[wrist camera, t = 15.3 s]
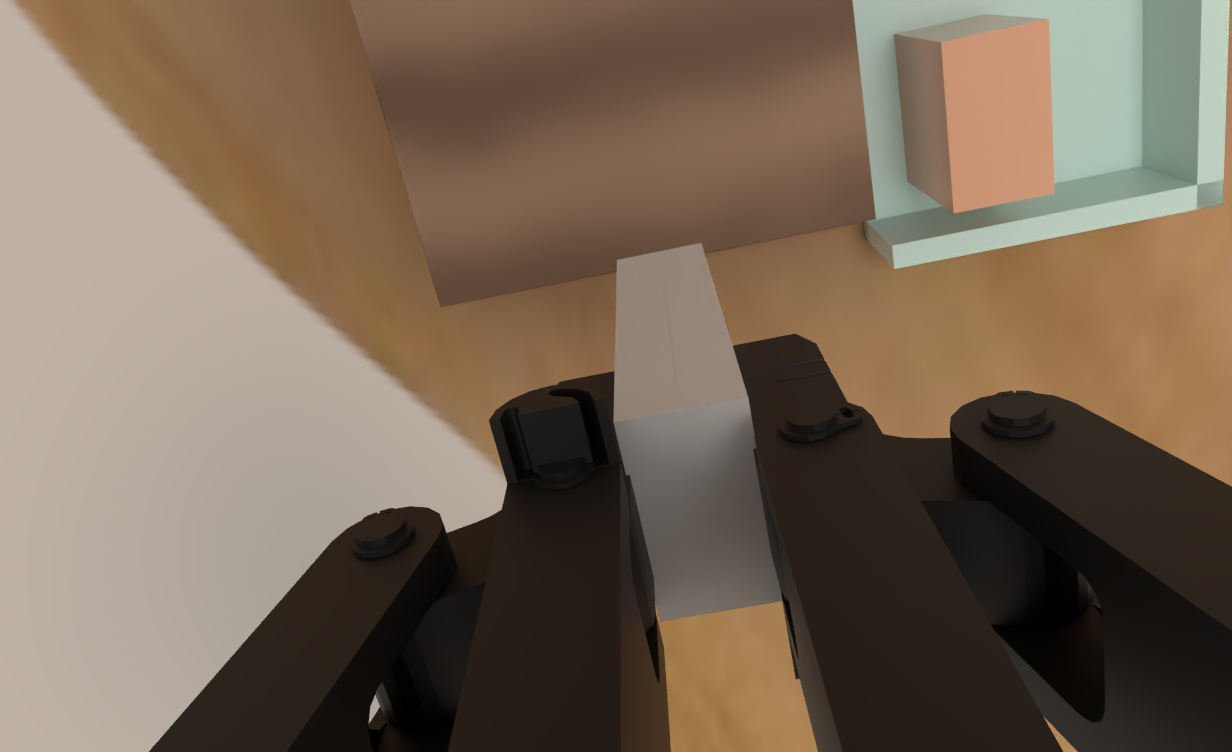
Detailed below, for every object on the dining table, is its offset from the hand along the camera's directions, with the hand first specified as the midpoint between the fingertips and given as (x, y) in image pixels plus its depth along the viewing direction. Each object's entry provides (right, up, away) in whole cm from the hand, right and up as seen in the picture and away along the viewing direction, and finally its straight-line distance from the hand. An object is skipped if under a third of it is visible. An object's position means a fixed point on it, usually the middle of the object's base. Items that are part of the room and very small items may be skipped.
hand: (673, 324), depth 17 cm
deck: (-1, +10, +15) cm, 19 cm away
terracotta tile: (+9, +7, +13) cm, 17 cm away
